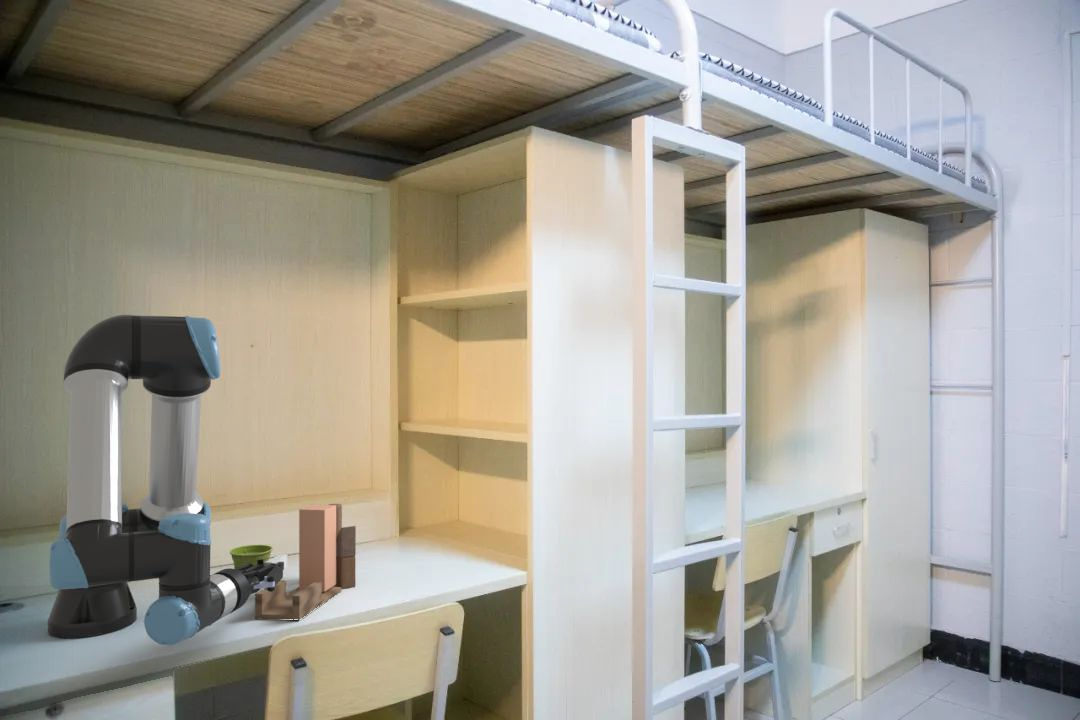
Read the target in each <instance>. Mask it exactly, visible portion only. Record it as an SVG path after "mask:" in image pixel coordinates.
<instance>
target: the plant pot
mask: <svg viewBox="0 0 1080 720" xmlns="http://www.w3.org/2000/svg"><path fill="white" fill-rule="evenodd" d="M273 550H274V548H273V546H271V545H269V544H268V545H267V544H249V545H248V544H247V545H241V546H237V547H234V548H231V549H230V550H229V555H230V556H231V559H232V561H233V569H235V568H238V567H241V566H244V565H247V564H249V563H251V564H253V566H254V565H256V564H257V560H259V559H263V560H264V563H265V562H266V561H268V560H270V557H271V552H272V551H273Z"/></svg>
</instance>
